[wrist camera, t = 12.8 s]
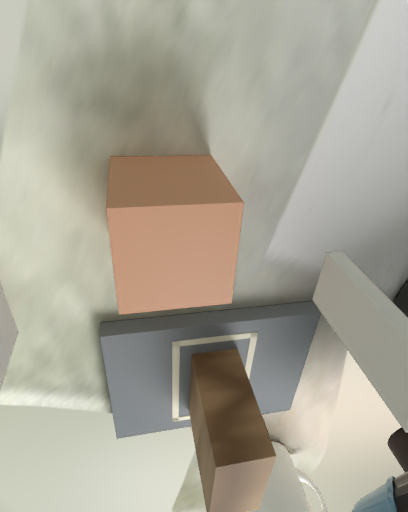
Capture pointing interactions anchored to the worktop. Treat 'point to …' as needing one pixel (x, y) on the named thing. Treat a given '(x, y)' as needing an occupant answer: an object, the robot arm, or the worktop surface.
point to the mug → (286, 486)
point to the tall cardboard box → (228, 433)
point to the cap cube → (172, 232)
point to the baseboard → (200, 341)
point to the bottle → (400, 447)
